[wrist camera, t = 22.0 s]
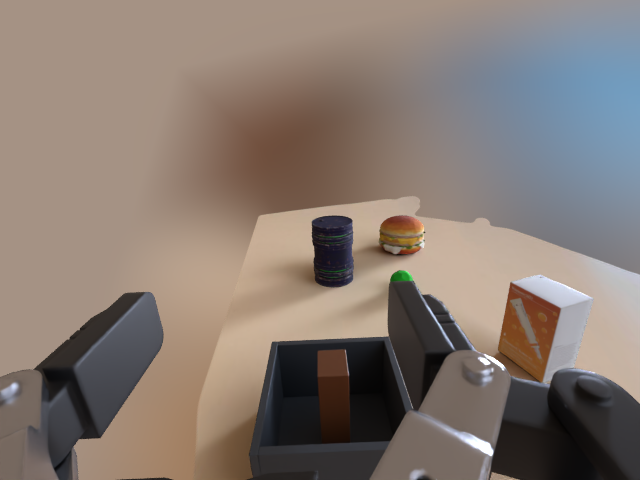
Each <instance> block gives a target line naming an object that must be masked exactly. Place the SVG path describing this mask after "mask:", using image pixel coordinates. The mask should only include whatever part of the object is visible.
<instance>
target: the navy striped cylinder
mask: <svg viewBox="0 0 640 480" xmlns="http://www.w3.org/2000/svg"><path fill="white" fill-rule="evenodd" d="M312 238H313V240H312V242H313V245H314V253H315V257H314V271H315V280H316V282H317V283H318V284H320V285H322V286H326V287H340V286H344V285H347V284H349V283H350V282H352V280H353V269H354V266H353V265H354V264H353V262H354V260H353V257H352V244H353V227H352V219H350V218H348V217H344V216H324V217H319V218H316V219H314V220H313V221H312Z"/></svg>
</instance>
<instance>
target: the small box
mask: <svg viewBox="0 0 640 480" xmlns="http://www.w3.org/2000/svg"><path fill="white" fill-rule="evenodd" d="M593 300H594V299H593V298H591V297H589V296H587V295H585V294H582V293H580V292H578V291H576V290H574V289H572V288H570V287H568V286H566V285H563V284H561V283H558V282H555V281H553V280H551V279H549V278H546V277H544V276H542V275H536V276H532V277H528V278H524V279H520V280H516V281H513V282H511V283H510V288H509V294H508V299H507V304H506V309H505V315H504V320H503V325H502V330H501V336H500V341H499V347H498V350H499V351H500V352H502V353H503V354H504V355H506V356H507V357H508V358H510V359H511V360H512V361H514V362H515V363H516V364H518V365H519V366H520V367H522V368H523V369H524V370H525V371H527V372H528V373H529V374H531V375H532V376H533V377H534V378H536V379H537V380H538V381H539V382H541V383H546V382H548V381H551V380H552V376H553V374H554V373H555V372H556V371H558V370H560V369H565V368H574V365H575V361H576V358H577V355H578V351H579V348H580V344H581V341H582V337H583V334H584V330H585V327H586V324H587V320H588V316H589V313H590V310H591V306H592V303H593Z"/></svg>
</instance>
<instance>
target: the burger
mask: <svg viewBox="0 0 640 480" xmlns="http://www.w3.org/2000/svg"><path fill="white" fill-rule="evenodd" d="M379 231H380V238H379V244H380V245H381V246H382V247H383V249H384V250H386V251H388V252H391V253H393V254H410V253H414V252H417V251H419V250H420V248H423V247H424V240H423V236H424V233H426V232H424V226H423V225H422V223H421V222H420V221H419V220H417V219H415V218H413V217H409V216H394V217H390V218H388V219H386V220H385V221H384V222H383V223H382V224H381V227H380V230H379Z"/></svg>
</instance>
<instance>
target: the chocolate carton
mask: <svg viewBox="0 0 640 480" xmlns="http://www.w3.org/2000/svg"><path fill="white" fill-rule="evenodd" d="M318 392H319V408H320V423H321V439H322V444H335V443H350V404H349V372H348V364H347V356H346V350H323V351H318Z"/></svg>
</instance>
